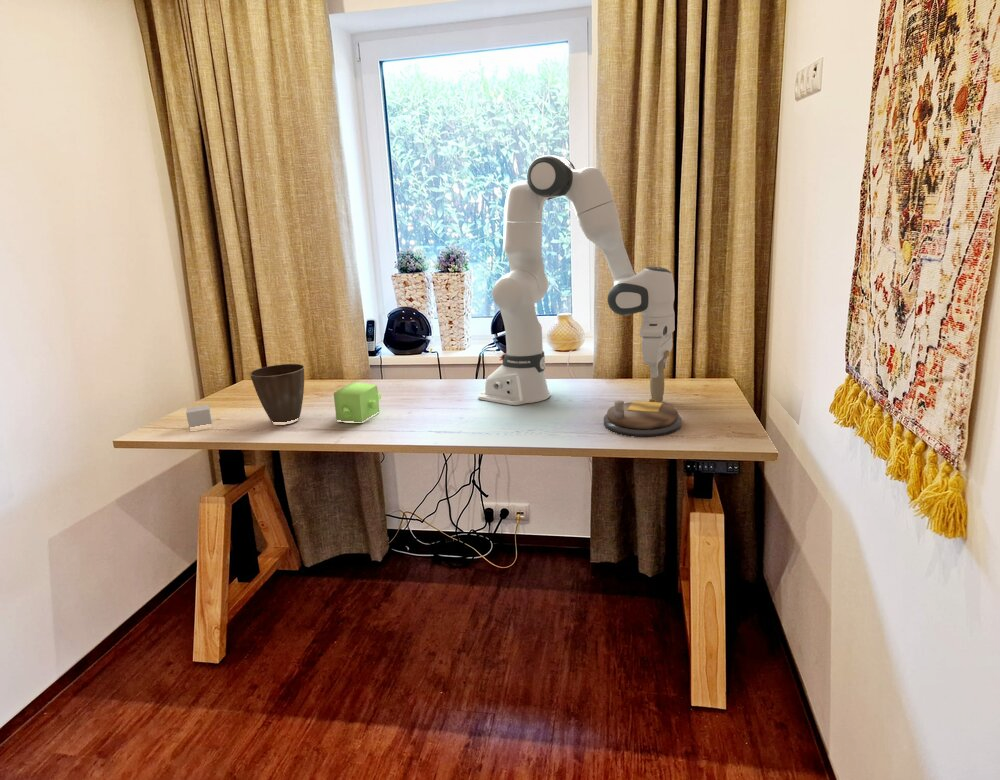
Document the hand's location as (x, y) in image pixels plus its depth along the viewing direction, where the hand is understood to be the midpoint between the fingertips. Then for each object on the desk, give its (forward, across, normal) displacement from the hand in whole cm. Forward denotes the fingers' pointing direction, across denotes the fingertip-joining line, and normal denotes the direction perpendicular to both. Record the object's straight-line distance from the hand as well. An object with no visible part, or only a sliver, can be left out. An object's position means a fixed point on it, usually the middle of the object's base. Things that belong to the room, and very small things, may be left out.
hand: (658, 372), depth 179 cm
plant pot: (+7, +49, -99) cm, 110 cm away
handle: (+9, 0, -1) cm, 9 cm away
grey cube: (+7, +61, -120) cm, 135 cm away
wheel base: (+9, +20, 0) cm, 22 cm away
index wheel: (+7, +20, 0) cm, 21 cm away
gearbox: (+8, +40, -78) cm, 88 cm away
